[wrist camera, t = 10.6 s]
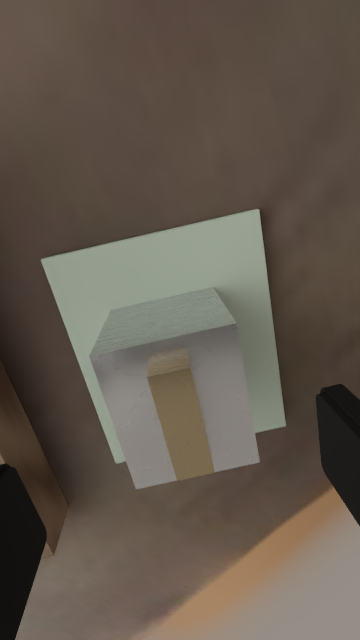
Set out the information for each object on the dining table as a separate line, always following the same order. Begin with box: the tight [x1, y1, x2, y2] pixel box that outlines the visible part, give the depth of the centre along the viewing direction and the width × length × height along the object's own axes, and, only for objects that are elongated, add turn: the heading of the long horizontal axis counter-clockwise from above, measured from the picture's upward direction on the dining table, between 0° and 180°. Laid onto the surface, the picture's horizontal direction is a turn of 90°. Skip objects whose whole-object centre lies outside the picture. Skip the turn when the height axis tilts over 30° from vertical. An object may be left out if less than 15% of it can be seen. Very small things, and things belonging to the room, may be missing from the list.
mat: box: [41, 209, 286, 464], centre depth 16 cm, size 12×10×1 cm
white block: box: [89, 287, 260, 489], centre depth 13 cm, size 6×5×6 cm
